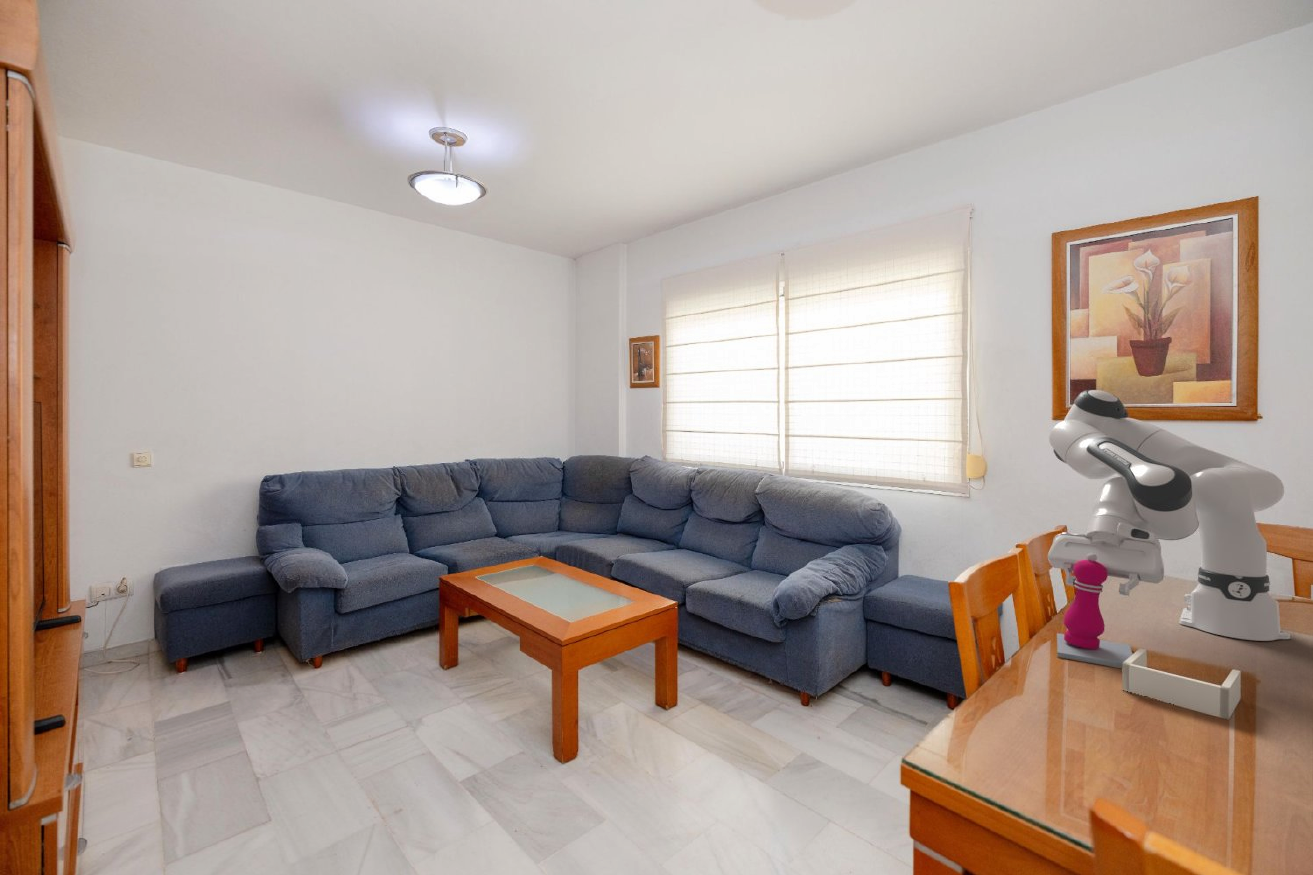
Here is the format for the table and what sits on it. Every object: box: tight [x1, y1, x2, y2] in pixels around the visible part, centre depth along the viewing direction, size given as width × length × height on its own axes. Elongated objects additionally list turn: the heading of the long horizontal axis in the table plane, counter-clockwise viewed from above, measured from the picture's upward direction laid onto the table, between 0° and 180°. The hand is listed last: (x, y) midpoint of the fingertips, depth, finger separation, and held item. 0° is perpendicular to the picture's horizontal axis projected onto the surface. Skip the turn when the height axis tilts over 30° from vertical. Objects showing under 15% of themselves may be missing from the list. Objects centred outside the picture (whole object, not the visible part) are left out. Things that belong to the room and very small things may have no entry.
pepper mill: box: [1063, 553, 1109, 649], centre depth 126 cm, size 7×7×20 cm
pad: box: [1056, 633, 1134, 669], centre depth 124 cm, size 14×13×1 cm
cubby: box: [1121, 647, 1242, 721], centre depth 105 cm, size 12×14×5 cm
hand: (1095, 588), depth 124 cm, fingers open, 8 cm apart
